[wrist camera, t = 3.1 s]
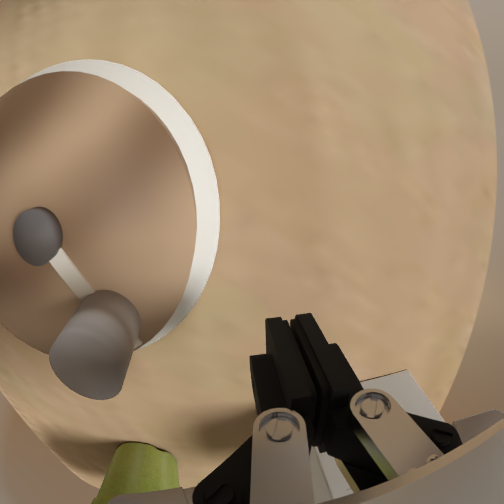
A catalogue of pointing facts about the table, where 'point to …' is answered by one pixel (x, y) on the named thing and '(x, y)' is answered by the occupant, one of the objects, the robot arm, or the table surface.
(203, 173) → the stand
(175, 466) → the plant pot
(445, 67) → the table surface
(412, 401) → the skincare box
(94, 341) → the dial
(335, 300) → the table surface
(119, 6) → the table surface
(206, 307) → the table surface
